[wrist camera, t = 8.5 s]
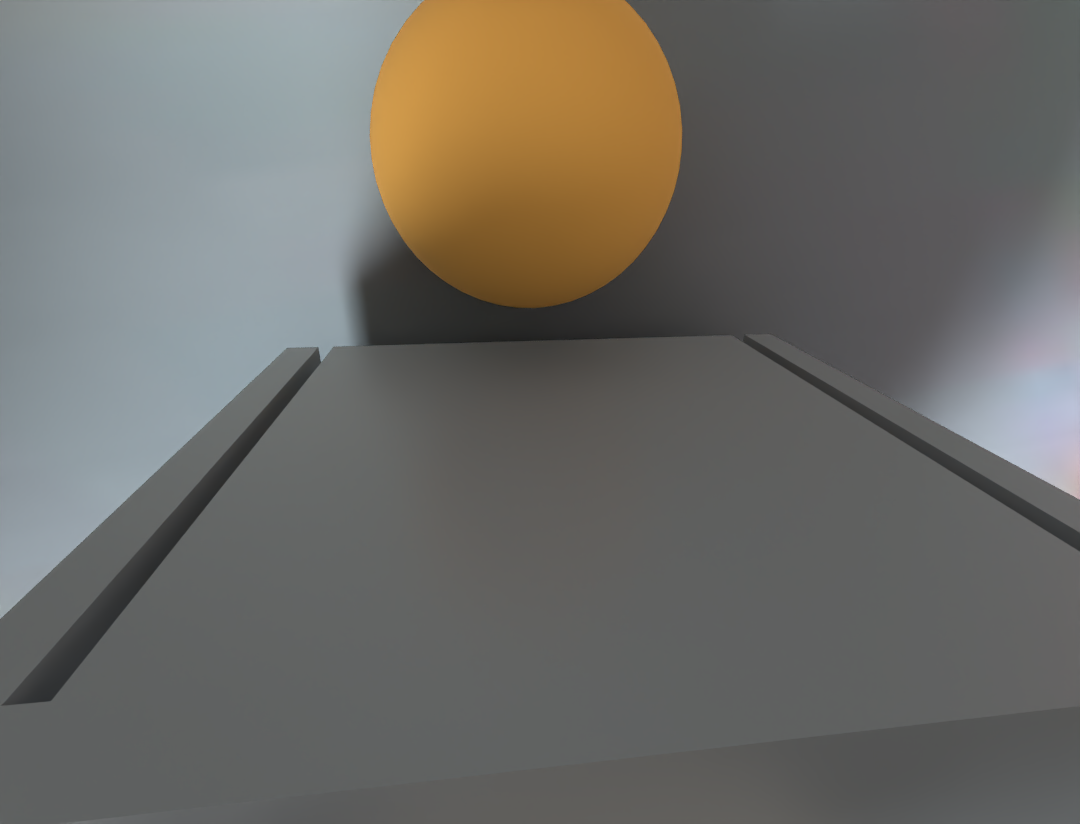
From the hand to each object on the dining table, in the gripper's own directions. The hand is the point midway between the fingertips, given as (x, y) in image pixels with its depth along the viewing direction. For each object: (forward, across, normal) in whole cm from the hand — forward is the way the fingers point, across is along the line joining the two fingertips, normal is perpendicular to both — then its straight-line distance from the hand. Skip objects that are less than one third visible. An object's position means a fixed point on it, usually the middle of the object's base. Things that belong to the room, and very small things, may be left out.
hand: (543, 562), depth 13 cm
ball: (0, 0, -9) cm, 9 cm away
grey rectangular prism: (+1, 0, 0) cm, 1 cm away
